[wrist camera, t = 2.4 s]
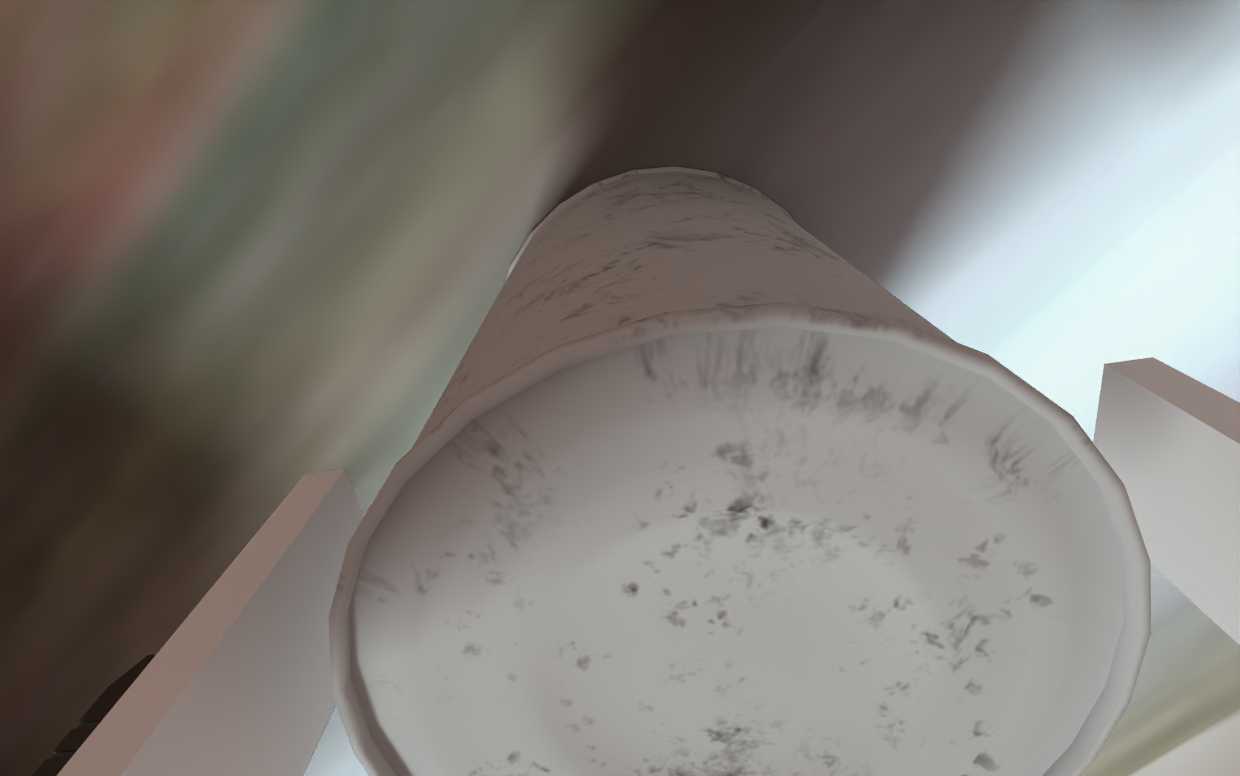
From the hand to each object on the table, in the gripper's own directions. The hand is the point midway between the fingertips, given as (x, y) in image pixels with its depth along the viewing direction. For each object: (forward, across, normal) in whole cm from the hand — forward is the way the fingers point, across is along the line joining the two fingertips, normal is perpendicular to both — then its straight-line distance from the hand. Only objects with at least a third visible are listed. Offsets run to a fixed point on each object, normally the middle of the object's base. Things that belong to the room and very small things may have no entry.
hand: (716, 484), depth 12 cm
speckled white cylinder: (+8, 0, 0) cm, 8 cm away
